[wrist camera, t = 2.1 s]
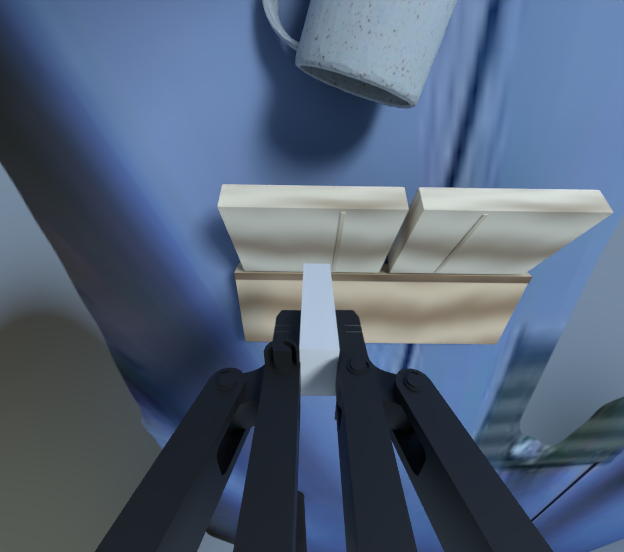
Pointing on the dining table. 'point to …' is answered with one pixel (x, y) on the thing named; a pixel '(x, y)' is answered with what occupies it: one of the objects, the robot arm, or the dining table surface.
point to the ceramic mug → (369, 45)
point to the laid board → (391, 304)
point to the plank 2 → (491, 228)
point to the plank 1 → (312, 225)
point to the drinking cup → (300, 525)
